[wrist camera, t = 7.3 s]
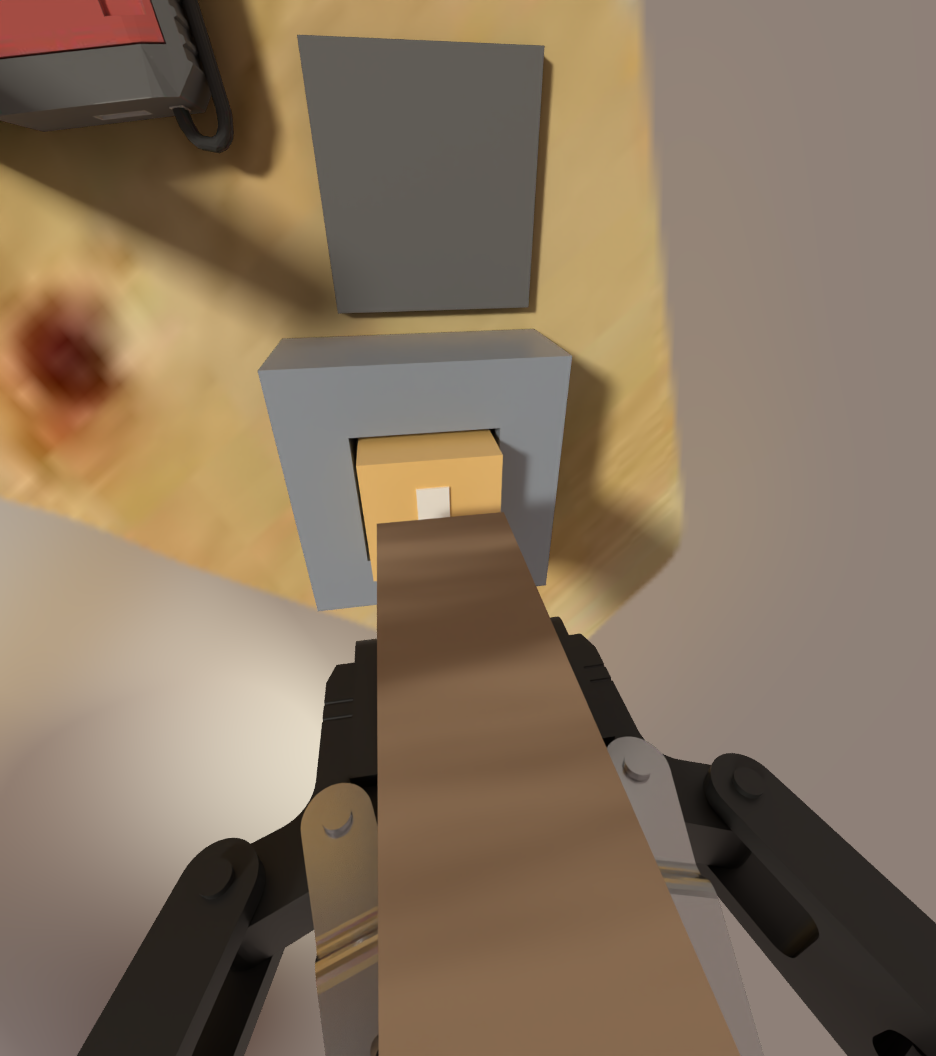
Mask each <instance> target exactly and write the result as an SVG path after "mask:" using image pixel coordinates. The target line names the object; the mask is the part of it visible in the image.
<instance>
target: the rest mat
mask: <svg viewBox="0 0 936 1056" xmlns="http://www.w3.org/2000/svg"><path fill="white" fill-rule="evenodd" d="M297 38H298V45H299V51H300V58H301V65H302V72H303V79H304V85H305V92H306V99H307V106H308V113H309V119H310V126H311V133H312V140H313V147H314V153H315V160H316V167H317V174H318V181H319V188H320V194H321V201H322V208H323V215H324V222H325V228H326V235H327V242H328V249H329V256H330V262H331V269H332V276H333V283H334V290H335V296H336V303H337V310H338V313H366V312H397V311H428V310H458V309H489V308H520V307H528V305H529V288H530V272H531V256H532V240H533V223H534V207H535V191H536V174H537V158H538V142H539V125H540V109H541V93H542V76H543V60H544V46H539V45H516V44H494V43H471V42H449V41H426V40H404V39H381V38H359V37H336V36H314V35H297Z"/></svg>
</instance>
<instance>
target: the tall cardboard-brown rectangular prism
mask: <svg viewBox="0 0 936 1056" xmlns="http://www.w3.org/2000/svg"><path fill="white" fill-rule="evenodd" d="M377 748H378V1025H379V1056H741V1055H740V1053H739V1051H738V1049H737V1046H736V1044H735V1042H734V1039H733V1037H732V1035H731V1032H730V1030H729V1028H728V1026H727V1023H726V1021H725V1019H724V1016H723V1014H722V1012H721V1010H720V1007H719V1005H718V1003H717V1000H716V998H715V996H714V993H713V991H712V989H711V987H710V984H709V982H708V980H707V977H706V975H705V973H704V971H703V968H702V966H701V964H700V961H699V959H698V957H697V954H696V952H695V950H694V948H693V945H692V943H691V941H690V938H689V936H688V934H687V931H686V929H685V927H684V925H683V922H682V920H681V918H680V915H679V913H678V911H677V909H676V906H675V904H674V902H673V899H672V897H671V895H670V892H669V890H668V888H667V886H666V883H665V881H664V879H663V876H662V874H661V872H660V870H659V867H658V865H657V863H656V860H655V858H654V856H653V853H652V851H651V849H650V847H649V844H648V842H647V840H646V837H645V835H644V833H643V831H642V828H641V826H640V824H639V821H638V819H637V817H636V814H635V812H634V810H633V808H632V805H631V803H630V801H629V798H628V796H627V794H626V791H625V789H624V787H623V785H622V782H621V780H620V778H619V775H618V773H617V771H616V769H615V766H614V764H613V762H612V759H611V757H610V755H609V752H608V750H607V748H606V746H605V743H604V741H603V739H602V736H601V734H600V732H599V730H598V727H597V725H596V723H595V720H594V718H593V716H592V713H591V711H590V709H589V707H588V704H587V702H586V700H585V697H584V695H583V693H582V691H581V688H580V686H579V684H578V681H577V679H576V677H575V674H574V672H573V670H572V668H571V665H570V663H569V661H568V658H567V656H566V654H565V651H564V649H563V647H562V645H561V642H560V640H559V638H558V635H557V633H556V631H555V629H554V626H553V624H552V622H551V619H550V617H549V615H548V612H547V610H546V608H545V606H544V603H543V601H542V599H541V596H540V594H539V592H538V590H537V587H536V585H535V583H534V580H533V578H532V576H531V573H530V571H529V569H528V567H527V564H526V562H525V560H524V557H523V555H522V553H521V551H520V548H519V546H518V544H517V541H516V539H515V537H514V534H513V532H512V530H511V528H510V525H509V523H508V521H507V518H506V516H505V514H504V512H498V513H487V514H476V515H465V516H455V517H444V518H433V519H422V520H411V521H400V522H390V523H379V524H377Z"/></svg>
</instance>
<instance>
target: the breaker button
mask: <svg viewBox="0 0 936 1056" xmlns="http://www.w3.org/2000/svg"><path fill="white" fill-rule="evenodd" d="M502 464H503V454H502V452H501V451H500V449H499V447H498V445H497V443H496V441H495V439H494V437H493V436H492V434H491V432H490V430H489V429H478V430H463V431H448V432H433V433H419V434H404V435H389V436H374V437H359V438H358V447H357V460H356V469H357V476H358V482H359V489H360V495H361V502H362V508H363V515H364V521H365V528H366V534H367V541H368V548H369V554H370V561H371V567H372V574H373V580H374V581H377V524H379V523H390V522H400V521H411V520H422V519H433V518H444V517H455V516H465V515H476V514H487V513H498V512H501V489H502Z"/></svg>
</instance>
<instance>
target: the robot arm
mask: <svg viewBox="0 0 936 1056" xmlns="http://www.w3.org/2000/svg"><path fill="white" fill-rule="evenodd" d="M550 619H551V622H552V624H553V626H554V629H555V631H556V633H557V635H558V638H559V640H560V642H561V645H562V647H563V649H564V651H565V654H566V656H567V658H568V661H569V663H570V665H571V668H572V670H573V672H574V674H575V677H576V679H577V681H578V684H579V686H580V688H581V691H582V693H583V695H584V697H585V700H586V702H587V704H588V707H589V709H590V711H591V713H592V716H593V718H594V720H595V723H596V725H597V727H598V730H599V732H600V734H601V736H602V739H603V741H604V743H605V746H606V748H607V750H608V752H609V755H610V757H611V759H612V762H613V764H614V766H615V769H616V771H617V773H618V775H619V778H620V780H621V782H622V785H623V787H624V789H625V791H626V794H627V796H628V798H629V801H630V803H631V805H632V808H633V810H634V812H635V814H636V817H637V819H638V821H639V824H640V826H641V828H642V831H643V833H644V835H645V837H646V840H647V842H648V844H649V847H650V849H651V851H652V853H653V856H654V858H655V860H656V863H657V865H658V867H659V870H660V872H661V874H662V876H663V879H664V881H665V883H666V886H667V888H668V890H669V892H670V895H671V897H672V899H673V902H674V904H675V906H676V909H677V911H678V913H679V915H680V918H681V920H682V922H683V925H684V927H685V929H686V931H687V934H688V936H689V938H690V941H691V943H692V945H693V948H694V950H695V952H696V954H697V957H698V959H699V961H700V964H701V966H702V968H703V971H704V973H705V975H706V977H707V980H708V982H709V984H710V987H711V989H712V991H713V993H714V996H715V998H716V1000H717V1003H718V1005H719V1007H720V1010H721V1012H722V1014H723V1016H724V1019H725V1021H726V1023H727V1026H728V1028H729V1030H730V1032H731V1035H732V1037H733V1039H734V1042H735V1044H736V1046H737V1049H738V1051H739V1053H740V1055H741V1056H764V1054H763V1051H762V1047H761V1044H760V1041H759V1037H758V1034H757V1031H756V1027H755V1023H754V1020H753V1016H752V1013H751V1009H750V1006H749V1002H748V999H747V996H746V992H745V989H744V985H743V982H742V978H741V975H740V971H739V968H738V964H737V961H736V957H735V954H734V951H733V947H732V944H731V940H730V937H729V933H728V930H727V926H726V923H725V919H724V916H723V912H722V909H721V905H720V902H719V899H718V897H719V898H720V899H721V901H722V902H723V903H724V904H725V906H726V907H727V908H728V909H729V910H730V912H731V913H732V914H733V915H734V917H735V918H736V919H737V920H738V922H739V923H740V924H741V925H742V927H743V928H744V929H745V930H746V931H747V933H748V934H749V935H750V936H751V938H752V939H753V940H754V941H755V943H756V944H757V945H758V946H759V947H760V949H761V950H762V951H763V952H764V953H765V955H766V956H767V957H768V959H769V960H770V961H771V962H772V963H773V965H774V966H775V967H776V968H777V969H778V971H779V972H780V973H781V974H782V976H783V977H784V978H785V979H786V981H787V982H788V983H789V984H790V986H791V987H792V988H793V989H794V990H795V992H796V993H797V994H798V995H799V997H800V998H801V999H802V1000H803V1002H804V1003H805V1004H806V1005H807V1006H808V1008H809V1009H810V1010H811V1011H812V1013H813V1014H814V1015H815V1016H816V1017H817V1018H818V1020H819V1021H820V1022H821V1024H822V1025H823V1026H824V1027H825V1029H826V1030H827V1031H828V1032H829V1034H831V1036H832V1037H833V1038H834V1040H835V1041H836V1042H837V1043H838V1045H839V1046H840V1047H841V1048H842V1049H843V1050H844V1052H845V1053H846V1054H847V1056H936V924H935V922H934V921H933V920H931V919H930V918H929V917H928V916H927V915H926V914H925V913H924V912H923V911H922V910H921V909H919V908H918V907H917V906H916V905H915V904H914V903H913V902H912V901H911V900H909V898H907V897H906V896H905V895H904V894H903V893H902V892H901V891H900V890H899V889H898V888H897V887H895V886H894V885H893V884H892V883H891V882H890V881H889V880H888V879H887V878H886V877H884V876H883V875H882V874H881V873H880V872H879V871H878V870H877V869H876V868H875V867H874V866H873V865H871V864H870V863H869V862H868V861H867V860H866V859H865V858H864V857H863V856H862V855H861V854H859V853H858V852H857V851H856V850H855V849H854V848H853V847H852V846H851V845H850V844H848V843H847V842H846V841H845V840H844V839H843V838H842V837H841V836H840V835H839V834H837V832H835V831H834V830H833V829H832V828H831V827H830V826H829V825H828V824H827V823H826V822H825V821H823V820H822V819H821V818H820V817H819V816H818V815H817V814H816V813H815V812H813V811H812V810H811V809H810V808H809V807H808V806H807V805H806V804H805V803H804V802H803V801H802V800H800V799H799V798H798V797H797V796H796V795H795V794H794V793H793V792H792V791H791V790H790V789H788V788H787V787H786V786H785V785H784V784H783V783H782V782H781V781H780V780H779V779H778V778H776V777H775V776H774V775H773V774H772V773H771V772H770V771H769V770H768V769H767V768H765V767H764V766H763V765H762V764H760V763H759V762H757V761H755V760H753V759H752V758H749V757H747V756H744V755H741V754H735V753H728V754H723V755H721V756H719V757H717V758H716V759H715V760H714V762H713V763H712V765H708V764H702V763H695V762H689V761H684V760H678V759H674V758H671V757H668V756H666V755H664V754H662V753H661V752H660V751H659V750H658V749H657V748H656V747H655V746H653V745H652V744H650V743H649V742H647V741H645V740H644V738H643V737H642V736H641V734H640V733H639V731H638V729H637V727H636V725H635V723H634V721H633V720H632V718H631V716H630V714H629V712H628V710H627V708H626V706H625V704H624V702H623V700H622V698H621V696H620V694H619V692H618V690H617V688H616V686H615V684H614V682H613V681H611V677H610V675H609V673H608V671H607V669H606V667H604V663H603V661H602V659H601V657H600V655H599V653H598V651H597V649H596V647H595V646H594V645H592V644H591V643H590V642H589V641H588V640H587V639H586V638H585V637H584V636H583V635H582V634H574V635H568V632H567V630H566V628H565V626H564V624H563V622H562V620H561V618H560V617H551V618H550ZM324 703H325V706H324V710H323V722H322V729H321V739H320V749H319V758H318V767H317V778H316V784H315V789H314V792H313V795H312V797H311V799H310V801H309V803H308V804H307V806H306V807H305V808H304V810H303V811H302V812H301V813H300V814H299V815H298V816H297V817H296V818H295V819H294V820H293V821H291V822H290V823H289V824H287V825H286V826H284V827H282V828H281V829H279V830H277V831H275V832H273V833H271V834H269V835H267V836H265V837H263V838H261V839H259V840H257V841H255V842H254V843H251V844H250V843H249V842H247V841H245V840H243V839H240V838H227V839H223V840H220V841H217V842H215V843H213V844H211V845H209V846H208V847H206V848H205V849H204V850H202V851H201V852H200V853H199V854H198V855H197V856H196V857H195V858H194V859H193V860H192V861H191V862H190V863H189V864H188V866H187V867H186V869H185V870H184V872H183V873H182V875H181V877H180V878H179V880H178V882H177V884H176V885H175V887H174V889H173V890H172V893H171V894H170V896H169V897H168V899H167V901H166V903H165V905H164V906H163V908H162V910H161V911H160V913H159V915H158V917H157V918H156V920H155V922H154V923H153V925H152V927H151V929H150V930H149V932H148V934H147V936H146V937H145V939H144V941H143V942H142V944H141V946H140V948H139V949H138V951H137V953H136V954H135V956H134V958H133V960H132V962H131V963H130V965H129V967H128V968H127V970H126V972H125V974H124V975H123V977H122V979H121V980H120V982H119V984H118V986H117V987H116V989H115V991H114V993H113V994H112V996H111V998H110V1000H109V1001H108V1003H107V1005H106V1006H105V1008H104V1010H103V1012H102V1013H101V1015H100V1017H99V1018H98V1020H97V1022H96V1024H95V1025H94V1027H93V1029H92V1031H91V1032H90V1034H89V1036H88V1038H87V1039H86V1041H85V1043H84V1044H83V1046H82V1048H81V1050H80V1051H79V1053H78V1055H77V1056H244V1054H245V1051H246V1049H247V1046H248V1044H249V1041H250V1038H251V1036H252V1033H253V1030H254V1028H255V1025H256V1023H257V1020H258V1017H259V1014H260V1012H261V1009H262V1007H263V1004H264V1001H265V999H266V996H267V994H268V991H269V988H270V986H271V983H272V980H273V978H274V975H275V972H276V970H277V967H278V965H279V962H280V959H281V957H282V954H283V951H284V949H285V947H287V946H288V945H290V944H292V943H293V942H295V941H297V940H298V939H300V938H301V937H303V936H304V935H306V934H308V933H309V932H311V931H313V930H314V932H315V939H316V948H317V958H316V961H315V971H316V972H315V973H316V985H317V994H318V1002H319V1009H320V1017H321V1024H322V1032H323V1039H324V1047H325V1055H326V1056H379V1025H378V748H377V639H371V640H363V641H356V646H355V663H348V664H340V665H336V667H335V669H334V671H333V672H332V674H331V676H330V677H329V679H328V681H327V683H326V692H325V701H324Z"/></svg>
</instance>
